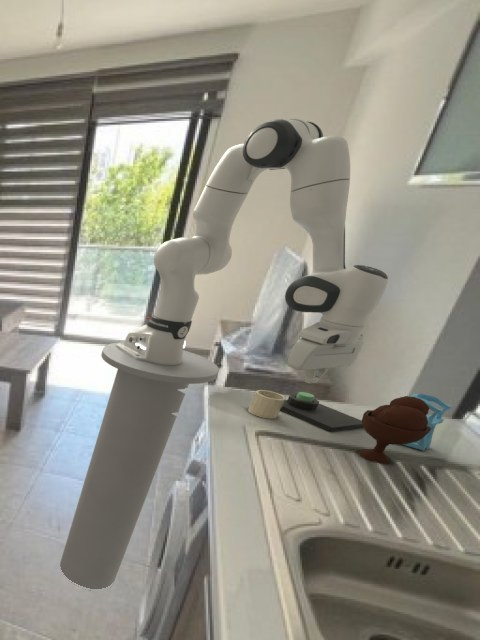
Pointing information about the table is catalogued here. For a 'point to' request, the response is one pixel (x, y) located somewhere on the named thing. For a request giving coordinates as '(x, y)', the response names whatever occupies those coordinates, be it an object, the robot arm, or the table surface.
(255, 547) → the table surface
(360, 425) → the scale
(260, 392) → the cream bowl
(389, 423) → the ice cream bowl
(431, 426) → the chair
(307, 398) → the tare button
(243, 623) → the table surface
